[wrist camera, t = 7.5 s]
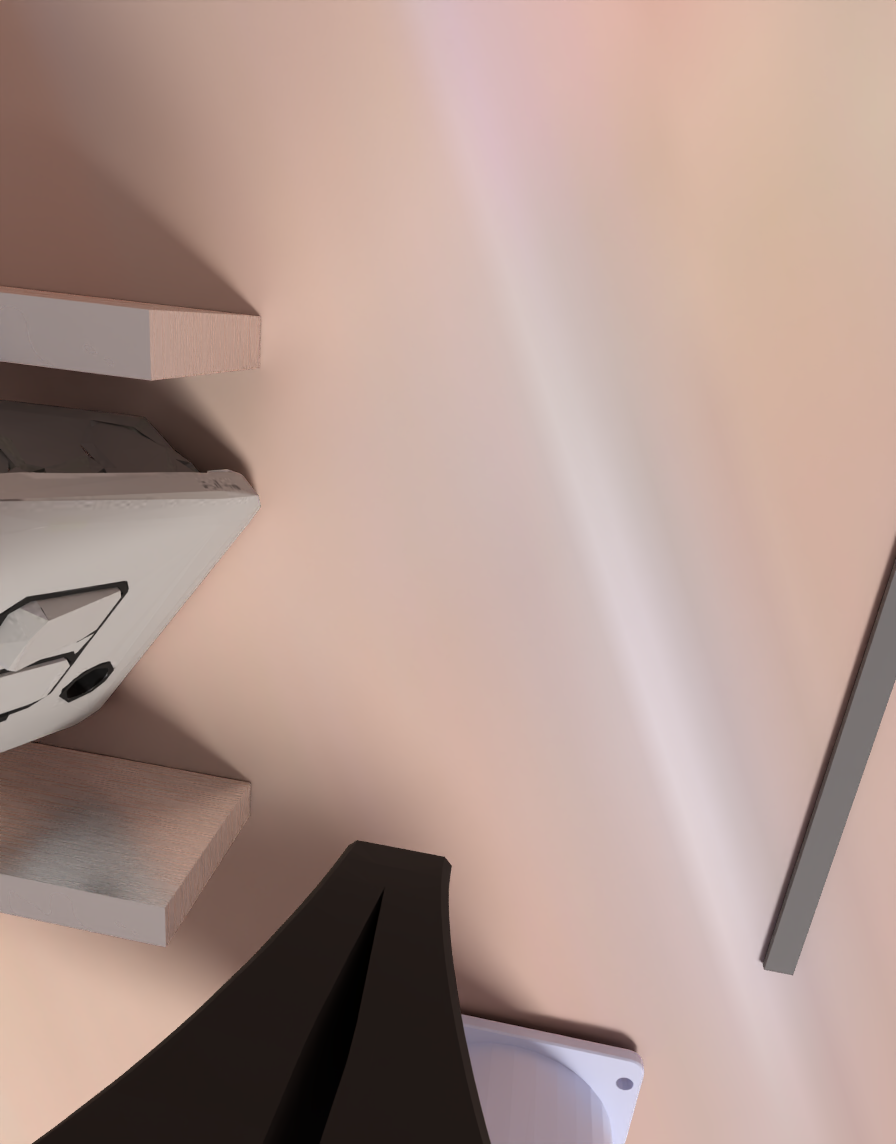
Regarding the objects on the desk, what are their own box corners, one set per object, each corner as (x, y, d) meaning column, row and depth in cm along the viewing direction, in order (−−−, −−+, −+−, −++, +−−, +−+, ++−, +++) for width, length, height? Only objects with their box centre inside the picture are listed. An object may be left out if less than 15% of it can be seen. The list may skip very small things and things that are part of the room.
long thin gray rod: (791, 970, 21) (792, 975, 21) (762, 965, 21) (764, 969, 21) (1017, 312, 15) (1023, 312, 15) (977, 308, 15) (981, 308, 15)
